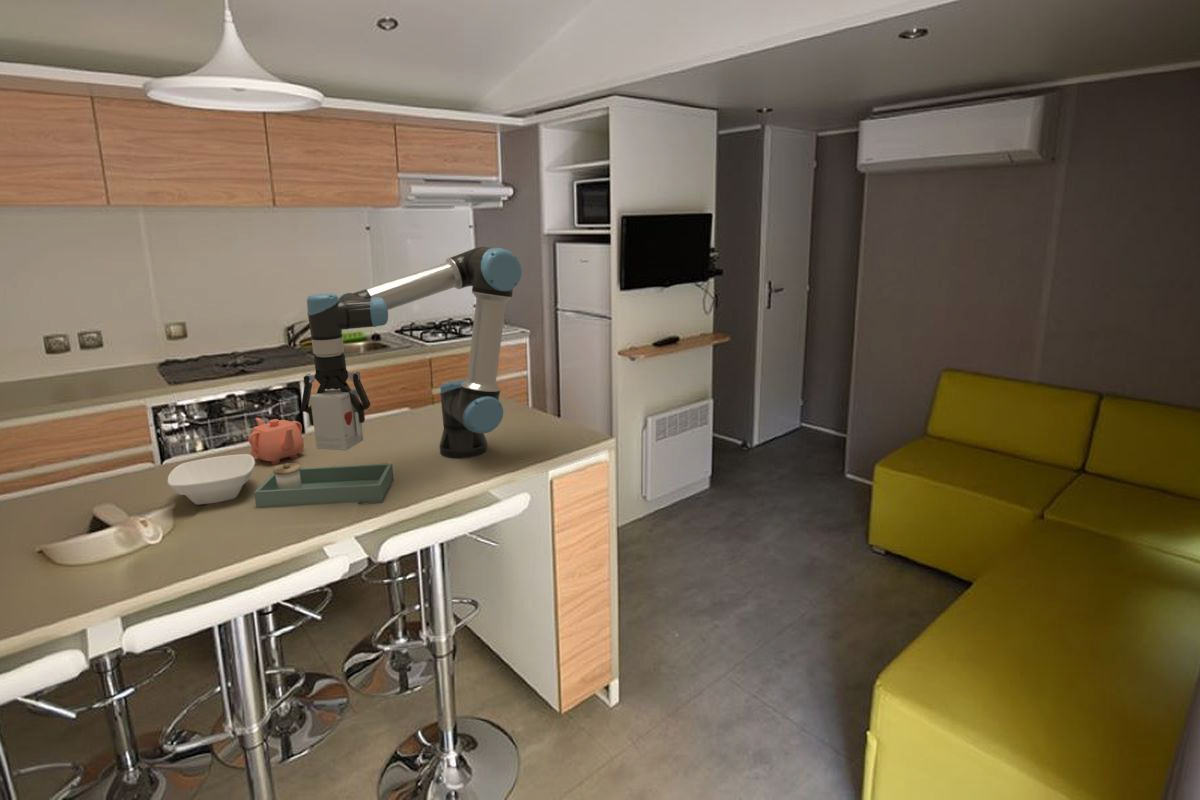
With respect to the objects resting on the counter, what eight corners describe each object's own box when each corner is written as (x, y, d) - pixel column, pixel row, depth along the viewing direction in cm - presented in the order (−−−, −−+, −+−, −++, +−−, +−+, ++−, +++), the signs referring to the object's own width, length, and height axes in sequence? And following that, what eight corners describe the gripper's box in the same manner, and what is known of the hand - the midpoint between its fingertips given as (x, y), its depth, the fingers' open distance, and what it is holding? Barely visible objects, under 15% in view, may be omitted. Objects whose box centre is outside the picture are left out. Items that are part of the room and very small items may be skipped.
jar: (305, 488, 187) (302, 464, 185) (298, 497, 181) (294, 473, 179) (283, 489, 186) (279, 466, 184) (275, 498, 180) (271, 474, 178)
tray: (393, 479, 194) (392, 463, 192) (382, 502, 178) (380, 485, 177) (278, 486, 191) (276, 469, 189) (256, 510, 175) (253, 492, 174)
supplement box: (346, 451, 176) (339, 396, 172) (315, 449, 178) (308, 395, 174) (364, 440, 185) (358, 387, 181) (335, 438, 186) (328, 386, 182)
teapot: (298, 465, 206) (292, 426, 203) (242, 468, 205) (235, 428, 202) (313, 448, 221) (308, 412, 217) (261, 451, 219) (255, 414, 216)
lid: (304, 464, 185) (303, 459, 185) (296, 473, 179) (295, 468, 178) (278, 466, 184) (277, 460, 184) (269, 475, 178) (268, 469, 177)
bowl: (167, 520, 171) (161, 489, 168) (180, 490, 189) (174, 462, 187) (257, 505, 179) (252, 475, 176) (261, 478, 197) (256, 450, 195)
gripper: (376, 349, 179) (385, 428, 185) (288, 352, 177) (300, 432, 183) (370, 355, 172) (379, 437, 178) (278, 358, 170) (291, 441, 176)
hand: (339, 435), depth 180 cm, fingers closed on supplement box, 10 cm apart
